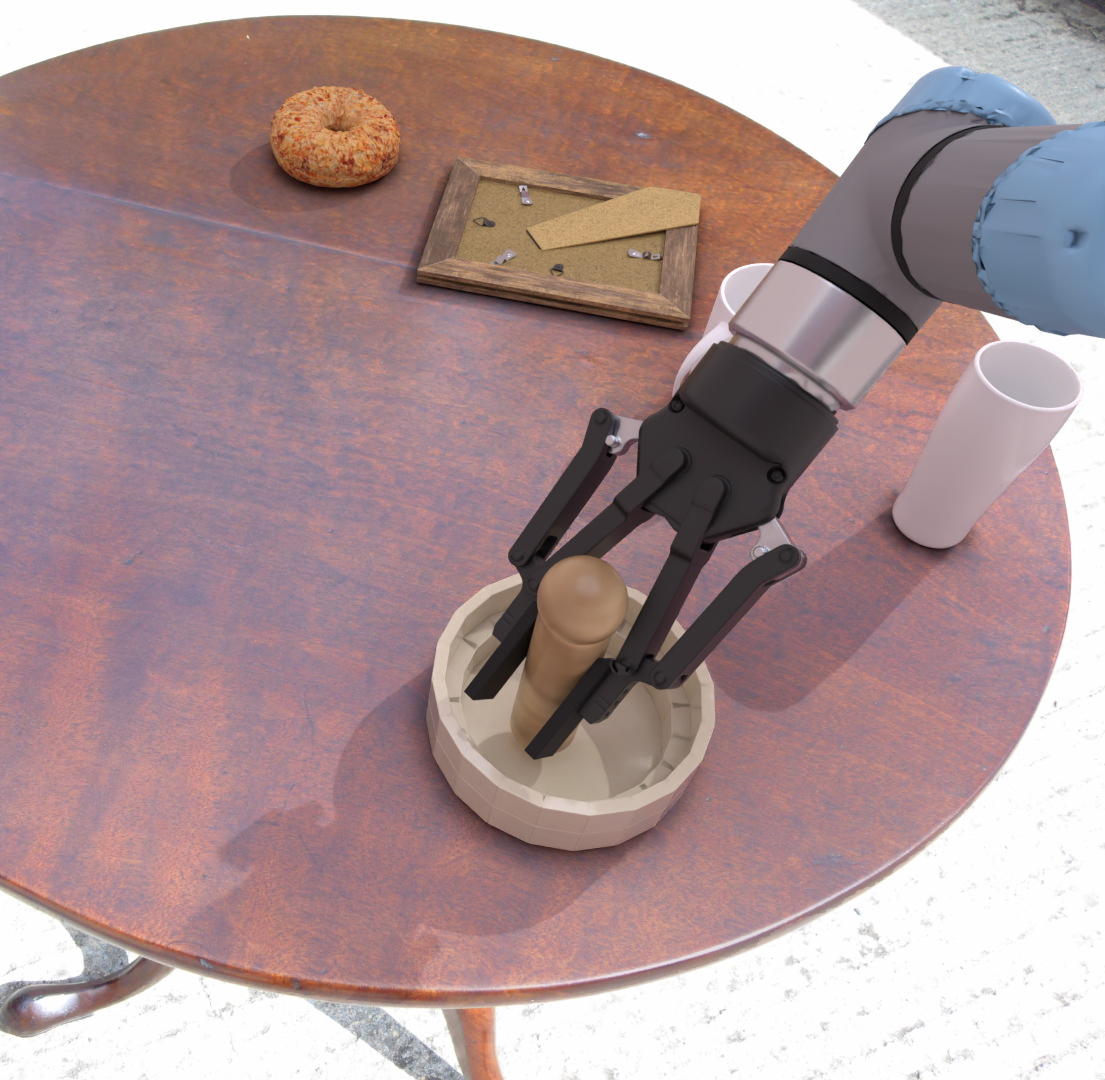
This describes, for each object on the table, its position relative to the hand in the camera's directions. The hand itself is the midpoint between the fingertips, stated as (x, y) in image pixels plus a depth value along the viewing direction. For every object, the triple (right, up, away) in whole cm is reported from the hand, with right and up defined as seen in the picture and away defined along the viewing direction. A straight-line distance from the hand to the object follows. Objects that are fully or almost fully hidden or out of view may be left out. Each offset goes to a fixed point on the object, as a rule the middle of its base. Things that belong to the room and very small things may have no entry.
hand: (508, 722), depth 60 cm
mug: (+20, +20, +27) cm, 39 cm away
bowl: (+4, -2, +8) cm, 9 cm away
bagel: (-12, +48, +47) cm, 68 cm away
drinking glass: (+33, +11, +20) cm, 40 cm away
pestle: (+3, -1, +5) cm, 6 cm away
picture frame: (+10, +37, +39) cm, 55 cm away
